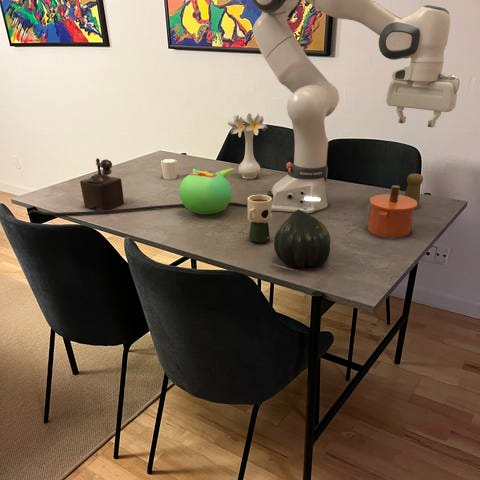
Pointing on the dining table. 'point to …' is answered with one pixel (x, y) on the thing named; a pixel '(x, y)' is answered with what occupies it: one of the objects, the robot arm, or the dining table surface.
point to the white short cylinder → (169, 168)
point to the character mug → (259, 217)
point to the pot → (390, 222)
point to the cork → (414, 187)
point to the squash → (302, 241)
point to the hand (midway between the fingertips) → (416, 124)
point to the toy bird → (206, 191)
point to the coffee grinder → (102, 189)
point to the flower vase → (248, 142)
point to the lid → (393, 201)
